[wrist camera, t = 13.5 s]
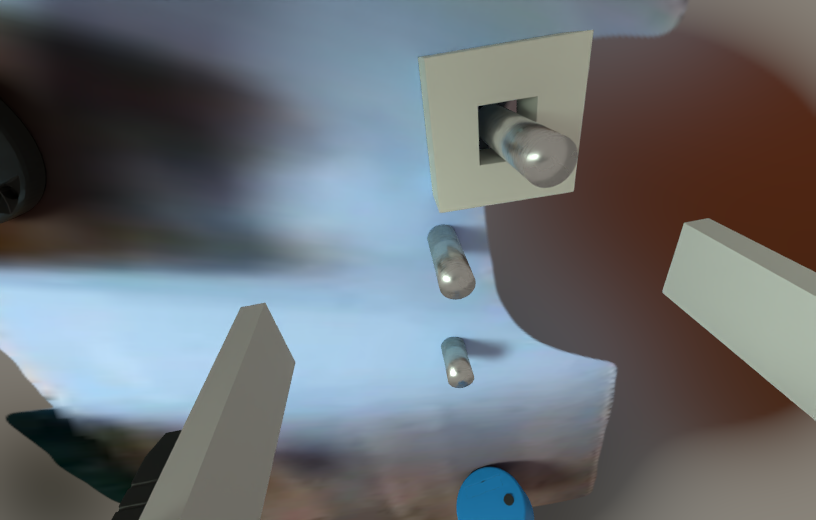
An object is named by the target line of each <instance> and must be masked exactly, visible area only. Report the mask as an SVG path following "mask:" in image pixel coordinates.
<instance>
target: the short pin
mask: <svg viewBox="0 0 816 520" xmlns="http://www.w3.org/2000/svg"><path fill="white" fill-rule="evenodd" d="M441 349H442V354H443V358H444V363H445V368H446V373H447V378H448V382H449V384H450V385H451V386H452V387H455V388H463V387H466V386H468V385H470V384H471V383H472V382H473V380H474V375H473V372H472V368H471V365H470V361H469V358H468V354H467V351H466V347H465V344H464V341H463V340H462V339H461V338H458V337H450V338H447V339H446V340H444V341H443V343H442V345H441Z"/></svg>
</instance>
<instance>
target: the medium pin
mask: <svg viewBox="0 0 816 520" xmlns="http://www.w3.org/2000/svg"><path fill="white" fill-rule="evenodd" d="M427 239H428V244H429V248H430V252H431V256H432V260H433V264H434V268H435V272H436V276H437V280H438V284H439V288H440V291H441V293H442V294H443V295H444V296H445V297H447V298H449V299H461V298H464V297H466V296H468V295H469V294H470V293H471V292H472V291H473V290H474V288H475V278H474V276H473V273H472V271H471V268H470V266H469V264H468V261H467V259H466V256H465V254H464V252H463V249H462V247H461V244H460V242H459V240H458V237H457V235H456V232H455V230H454V229H453V228H452V227H450V226H448V225H438V226H435V227H434V228H432V229H431V230H430V232H429V234H428V238H427Z"/></svg>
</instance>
